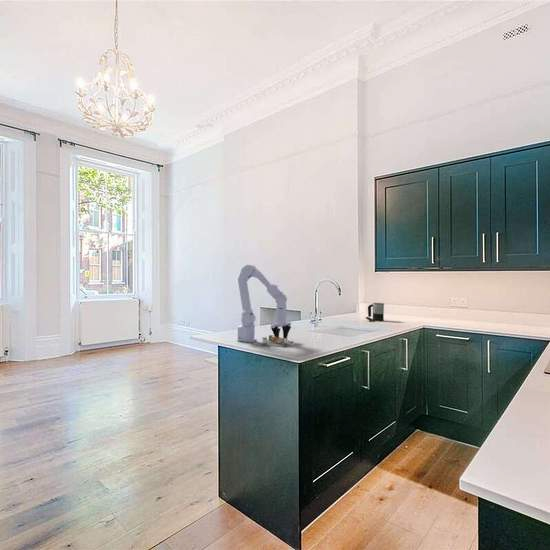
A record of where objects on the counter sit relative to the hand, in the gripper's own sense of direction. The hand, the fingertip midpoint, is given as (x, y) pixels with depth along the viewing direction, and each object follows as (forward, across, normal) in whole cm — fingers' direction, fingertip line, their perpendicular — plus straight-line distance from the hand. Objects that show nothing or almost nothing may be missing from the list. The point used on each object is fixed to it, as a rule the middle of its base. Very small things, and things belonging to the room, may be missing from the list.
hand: (281, 339), depth 203 cm
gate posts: (+2, -9, -4) cm, 10 cm away
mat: (+2, -4, -1) cm, 5 cm away
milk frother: (+2, +124, +10) cm, 125 cm away
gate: (+1, -5, -1) cm, 5 cm away
